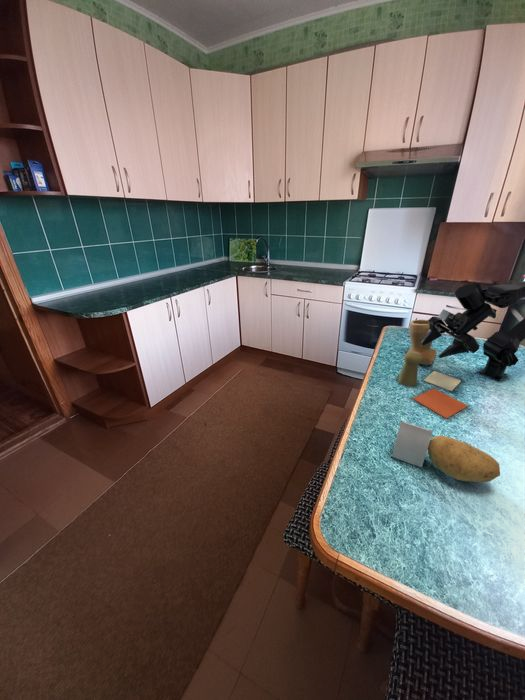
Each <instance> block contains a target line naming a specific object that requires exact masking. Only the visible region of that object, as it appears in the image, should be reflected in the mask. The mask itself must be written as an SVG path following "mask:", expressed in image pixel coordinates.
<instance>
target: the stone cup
mask: <svg viewBox="0 0 525 700" xmlns="http://www.w3.org/2000/svg"><path fill="white" fill-rule="evenodd" d="M428 320H429V319H414V320H411V321H410V322H409V328H408V333H409V339H410V347H409V349H408V350H407V352H406V353H408V352H416V353H418V354H420V355H421V358H422V360H421V362H420V363H419V364H418V365H424V366H429V365H432V364H433V362H434V360H435V358H436V356H437V352H438V351H437V350H436V349H434V348H431V347H432V344H433V341H431V342H430V343H428V344H426V345H422V344H421V343H422V341H423V340H424V338H425V337H426V335H427V333H428V331H429V328H430V325H429V321H428Z"/></svg>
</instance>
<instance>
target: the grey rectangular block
mask: <svg viewBox="0 0 525 700" xmlns="http://www.w3.org/2000/svg"><path fill="white" fill-rule="evenodd" d="M396 434H397V435H396V438H395V442H394V446H393V450H392V455H391V457H392V458H394V459H397V460H399V461H403V462H405V463H408V464H411V465H413V466H415V467H419V468H423V465H424V462H425V459H426V456H427V454H428V447H429V443H430V440H431V439H432V435H433V430H432V429H428V428H426V427H422V426H420V425H419V426H418V425H416V424H412V423H409V422H405V421H403V420H400V423H399V428H398V431H397V433H396Z"/></svg>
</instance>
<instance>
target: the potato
mask: <svg viewBox="0 0 525 700" xmlns="http://www.w3.org/2000/svg"><path fill="white" fill-rule="evenodd" d="M427 454H428V456H429V459H430V460H431V462H432V463H433V464H434V466H435V467H436V468H437V469H439V471H441V472H442V473H444V474H446V475H447V476H449V477H451V478H453V479H454V480H458V481H462V482H473V483H475V482H476V483H487V482H489V483H490V482H492V481H493V480H495V479H496V478H498V477H500V476H501V470H500V469H501V468H500V463H499V462H498V461H497V460H496V459H495V458H494V457H493V456H492V455H490V454H489V453H486V452H485V451H483V450H481V449H479V448H478V447H476V446H473V445H471V444H469V443H467V442H464V441H462V440H459V439H455V438H453V437H450V436H445V435H441V434H440V435H435V436H434V437H433V438H432V437H431V439H430V443H429V447H428V450H427Z"/></svg>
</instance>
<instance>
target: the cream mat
mask: <svg viewBox="0 0 525 700" xmlns="http://www.w3.org/2000/svg"><path fill="white" fill-rule="evenodd" d="M423 382H425V383H427V384H430V385H433V386H436V387H439V388H441V389H443V390H446V391H449V392H451V393H452V392H453V391H454V390H455V388H457V387H458V385H460V383H461V382H462V380H460V379H458V378H455V377H453V376H449V375H447V374H444V373H441V372H439V371H436V370H434V371H432V372H431V373H430V374H429V375H427V376H426V377H425V378H424V379H423Z"/></svg>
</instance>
